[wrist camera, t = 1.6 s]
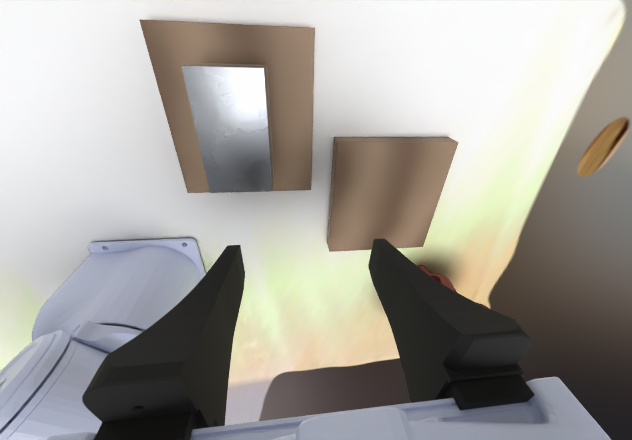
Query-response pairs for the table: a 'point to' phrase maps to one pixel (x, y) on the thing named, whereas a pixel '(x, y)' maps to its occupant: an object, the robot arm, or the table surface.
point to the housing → (232, 124)
